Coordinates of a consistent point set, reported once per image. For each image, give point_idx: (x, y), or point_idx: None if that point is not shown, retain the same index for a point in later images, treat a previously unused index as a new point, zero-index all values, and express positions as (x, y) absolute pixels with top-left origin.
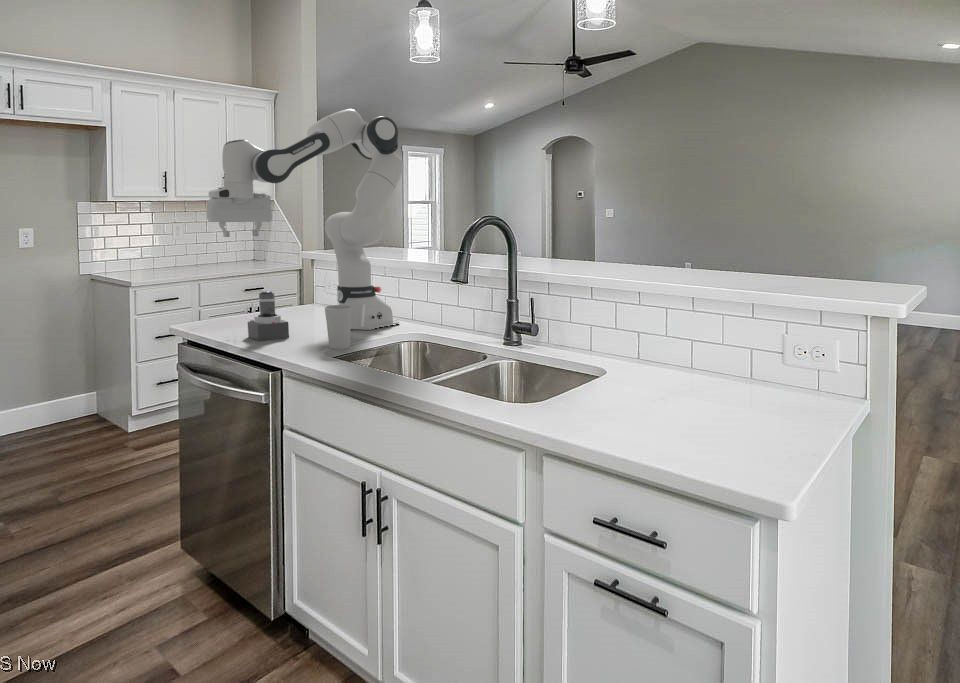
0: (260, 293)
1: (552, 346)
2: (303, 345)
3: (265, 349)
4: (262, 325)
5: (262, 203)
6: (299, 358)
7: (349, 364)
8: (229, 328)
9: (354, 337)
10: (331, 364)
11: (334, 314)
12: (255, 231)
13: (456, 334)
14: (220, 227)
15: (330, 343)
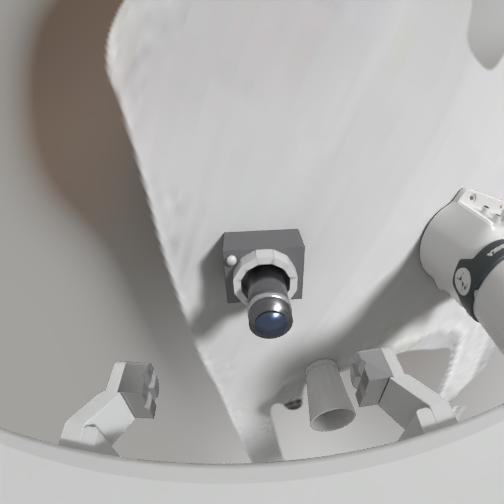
0: (255, 316)
1: (456, 415)
2: (282, 344)
3: (216, 342)
4: (239, 301)
5: None
6: (238, 397)
7: (273, 427)
8: (221, 92)
9: (382, 327)
10: (257, 423)
11: (314, 422)
12: (367, 401)
13: (471, 355)
14: (80, 414)
15: (306, 377)
